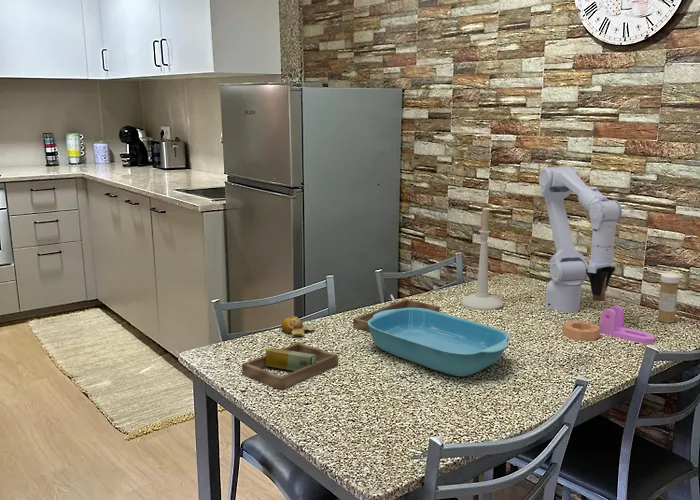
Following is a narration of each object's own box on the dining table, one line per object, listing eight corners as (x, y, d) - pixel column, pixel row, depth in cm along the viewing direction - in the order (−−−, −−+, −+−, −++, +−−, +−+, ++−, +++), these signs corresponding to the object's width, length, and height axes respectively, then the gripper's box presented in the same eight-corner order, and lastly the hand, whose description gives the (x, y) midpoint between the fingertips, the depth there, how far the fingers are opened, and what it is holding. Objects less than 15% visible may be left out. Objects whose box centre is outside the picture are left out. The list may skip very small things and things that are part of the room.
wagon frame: (353, 327, 175) (353, 319, 175) (406, 306, 194) (406, 298, 193) (387, 337, 167) (387, 328, 167) (439, 314, 186) (439, 306, 185)
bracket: (599, 333, 171) (601, 308, 169) (608, 328, 174) (611, 304, 173) (648, 345, 161) (651, 319, 160) (657, 340, 165) (660, 314, 164)
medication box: (316, 371, 146) (317, 354, 145) (311, 374, 143) (312, 357, 143) (270, 363, 150) (270, 346, 149) (264, 366, 147) (265, 349, 147)
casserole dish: (526, 361, 152) (528, 333, 150) (473, 390, 136) (475, 359, 134) (406, 326, 177) (406, 301, 175) (350, 347, 161) (350, 320, 160)
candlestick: (457, 307, 193) (460, 209, 186) (464, 296, 204) (467, 203, 198) (500, 312, 188) (505, 211, 182) (504, 300, 200) (509, 205, 194)
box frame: (242, 374, 144) (242, 364, 144) (298, 352, 158) (298, 342, 157) (281, 390, 136) (281, 379, 135) (338, 365, 149) (337, 355, 149)
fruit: (298, 337, 166) (297, 324, 165) (274, 333, 171) (273, 320, 170) (317, 328, 173) (316, 315, 172) (293, 324, 177) (292, 312, 177)
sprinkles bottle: (662, 317, 183) (666, 271, 180) (678, 320, 179) (682, 274, 176) (654, 320, 180) (658, 274, 177) (670, 324, 177) (674, 277, 174)
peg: (590, 299, 175) (592, 275, 174) (594, 297, 178) (596, 272, 176) (602, 301, 173) (604, 276, 172) (606, 299, 176) (608, 274, 174)
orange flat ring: (558, 335, 168) (558, 326, 168) (571, 327, 175) (571, 318, 174) (590, 343, 163) (591, 334, 162) (602, 334, 169) (603, 325, 169)
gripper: (608, 251, 164) (604, 302, 167) (626, 242, 175) (622, 290, 178) (581, 248, 169) (577, 297, 172) (600, 239, 180) (597, 286, 182)
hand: (598, 293), depth 175 cm, fingers closed on peg, 3 cm apart
